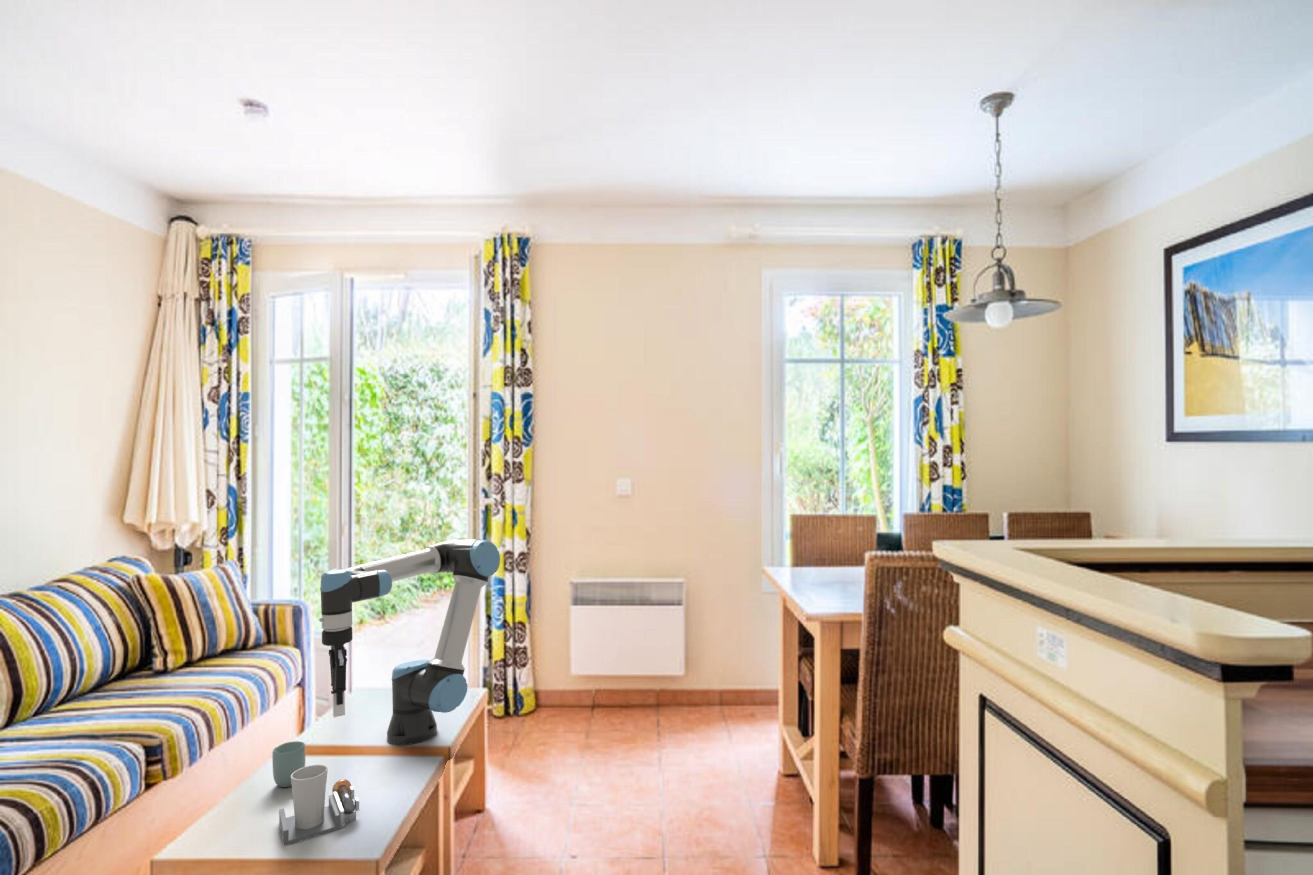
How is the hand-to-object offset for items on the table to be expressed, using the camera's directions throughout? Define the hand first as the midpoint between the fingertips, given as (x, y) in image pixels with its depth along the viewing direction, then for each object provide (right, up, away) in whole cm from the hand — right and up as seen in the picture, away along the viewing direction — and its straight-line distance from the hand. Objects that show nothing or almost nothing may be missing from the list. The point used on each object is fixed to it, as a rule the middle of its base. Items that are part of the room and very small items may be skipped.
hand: (339, 715), depth 180 cm
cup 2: (+2, -18, -19) cm, 26 cm away
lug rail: (+9, -19, -14) cm, 25 cm away
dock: (+2, -19, -19) cm, 27 cm away
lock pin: (+8, -18, -13) cm, 23 cm away
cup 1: (-15, -21, +3) cm, 26 cm away
